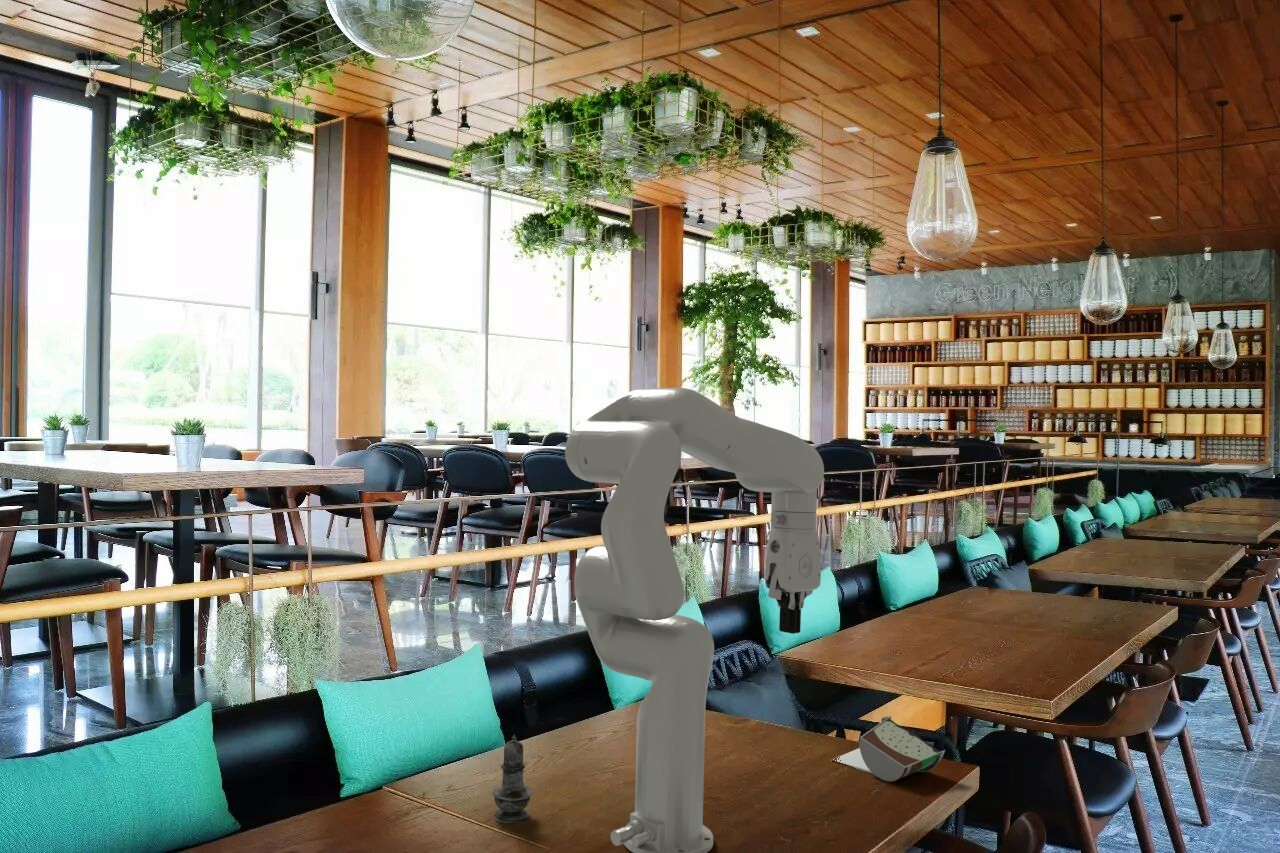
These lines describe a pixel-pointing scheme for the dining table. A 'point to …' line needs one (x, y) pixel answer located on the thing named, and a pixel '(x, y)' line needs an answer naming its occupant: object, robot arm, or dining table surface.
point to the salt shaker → (512, 786)
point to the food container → (896, 751)
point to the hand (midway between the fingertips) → (789, 631)
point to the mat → (854, 760)
